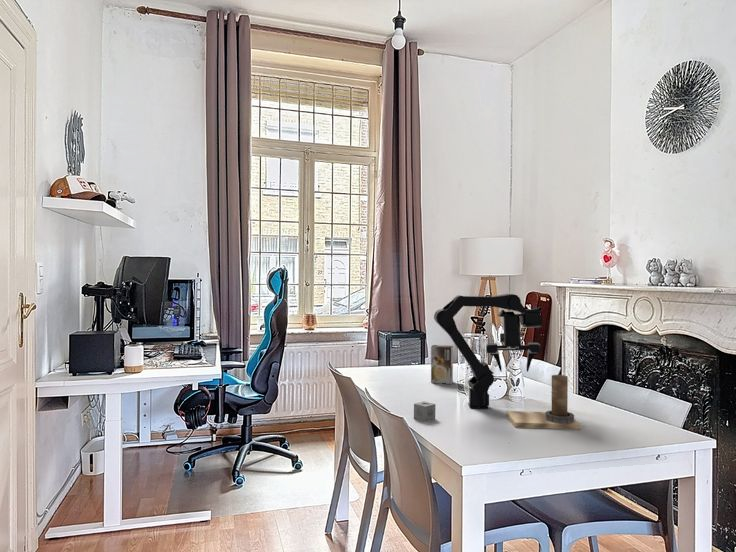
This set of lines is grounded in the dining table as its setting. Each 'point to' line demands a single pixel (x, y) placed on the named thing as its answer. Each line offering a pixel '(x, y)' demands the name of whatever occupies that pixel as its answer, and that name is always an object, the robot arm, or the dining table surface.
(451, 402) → the dining table surface
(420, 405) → the dice cube
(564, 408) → the walnut post
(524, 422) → the oak socket board
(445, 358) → the coffee box
